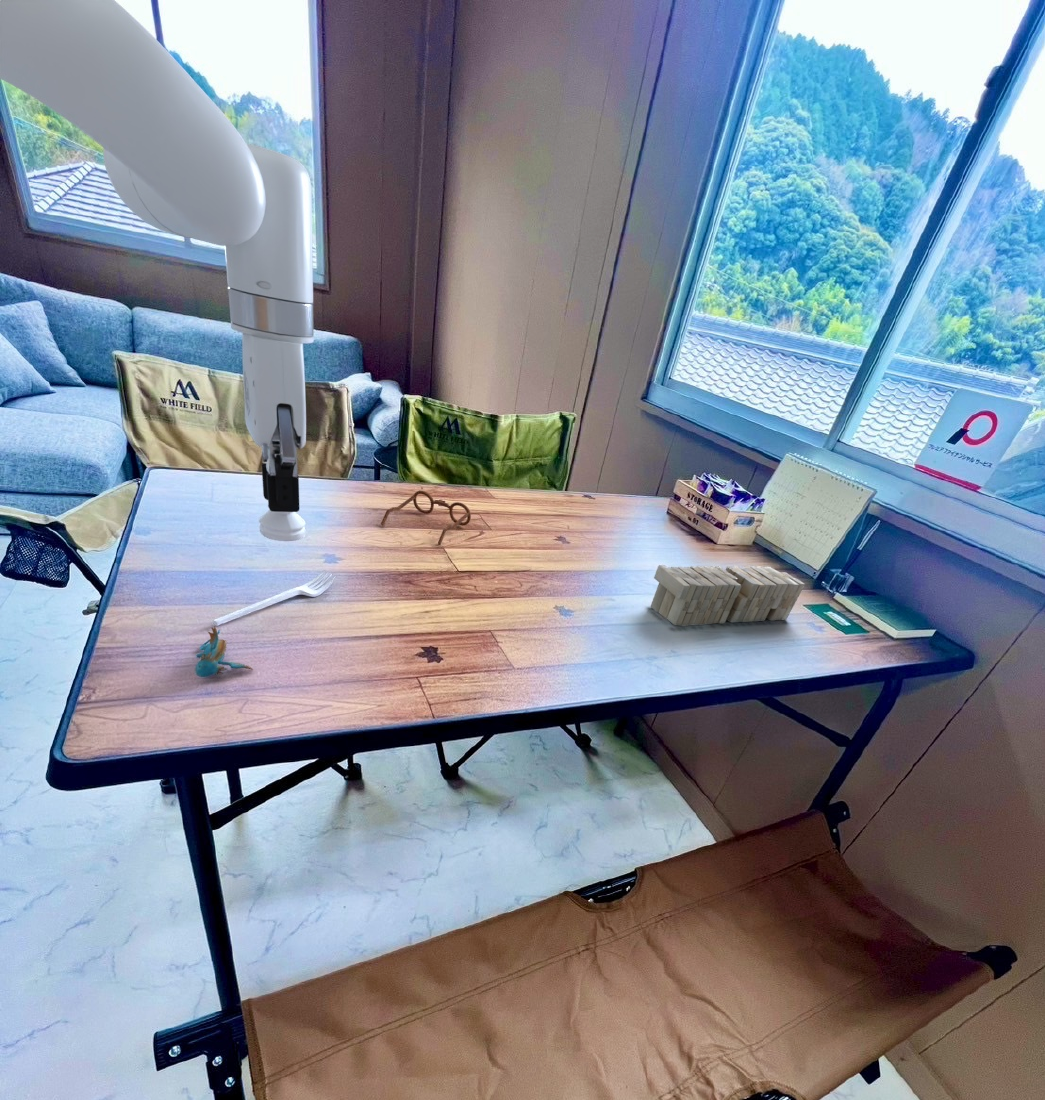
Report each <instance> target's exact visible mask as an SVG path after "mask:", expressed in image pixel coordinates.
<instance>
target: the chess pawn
mask: <svg viewBox="0 0 1045 1100" xmlns="http://www.w3.org/2000/svg"><path fill="white" fill-rule="evenodd" d="M275 457H276V454H275ZM265 463H266V468H267V471H268V473H269V460H267V462H265ZM269 474H270V473H269ZM267 508H268V510H267V511H266V512H264V513H263V514H262V515H261V516H260V517H259V519H258V522H259V533H260V535H262V536H263V537H264V538H266V539H270V540H273V541H276V542H277V541H278V542H295V541H299V540H302V539H303V538H305V536H306V527H305V526H306V521H305V520H304V519H303V517H302V516H301V515H299V514H298V513H297V512H273V511H271V510H270V509H269V507H268V506H267Z"/></svg>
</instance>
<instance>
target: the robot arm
mask: <svg viewBox="0 0 1045 1100" xmlns="http://www.w3.org/2000/svg"><path fill="white" fill-rule="evenodd" d="M0 80H2V81H3V82H6V83H8V84H9V85H11V86H13V87H15V88H17V89H19V90H20V91H22V92H24V93H25V94H28V96H30V97H32V98H34V99H35V100H37V101H38V102H40V103H42V104H43V105H44V106H46V107H48V108H49V109H51V110H52V111H54V112H55V113H57V114H58V115H60V116H61V117H62V118H64V120H67V121H68V122H69V123H71V124H72V125H73V126H75V127H76V128H78V129H79V130H80V131H81V132H82V133H84V134H85V135H87V136H88V137H89V138H91V139H92V140H93V141H94V142H95V143H97V145H99V146H101V147H102V148H103V154H102V155H103V163H104V167H105V171H106V174H107V176H108V177H107V178H108V179H109V181H110V183H111V186H112V187H113V189H114V191H115V193H116V194H117V196H118V197H119V198H120V200H121V201H122V203H124V205H125V206H126V207H127V208H128V209H129V210H130V211H131V212H132V213H134V214H135V215H136V217H138V218H139V219H141V220H142V221H143V222H145V223H146V224H148V225H150V226H152V227H154V228H155V229H158V230H160V231H162V232H165V233H169V234H171V235H175V236H179V237H182V238H183V237H184V238H186V239H193V240H197V241H201V242H206V243H209V244H212V245H216V246H221V247H224V255H225V267H226V278H227V291H228V293H227V294H228V302H229V303H228V304H229V305H228V306H229V316H230V317H229V318H230V328H231V329H232V330H233V331H236V332H238V333H241V334H242V336H241V353H242V354H241V357H242V360H241V361H242V380H243V394H244V395H243V397H244V399H243V400H244V423H245V426H246V429H247V431H248V433H249V435H250V438H251V439H252V441H253V443H255V445H256V446H257V447H259V448H261V458H262V462H261V463H260V464H261V479H262V480H261V481H262V493H263V498H264V499H265V500H266V501H267V508H268V507H269V508H268V510H269V509H270V510H271V511H273V512H296V513H297V512H299V511H300V483H299V482H300V479H299V478H300V477H299V475H298V473H299V472H298V471H299V469H298V452H297V451H298V450H301V449H304V447H305V446H306V443H307V442H306V441H307V403H306V400H307V399H306V398H307V397H306V376H305V370H306V369H305V368H306V366H305V359H304V344H313V343H315V335H314V333H315V332H314V267H313V266H314V265H313V264H314V263H313V261H314V260H313V259H314V258H313V196H312V195H313V194H312V192H313V191H312V182H311V178H310V174H309V172H308V170H307V168H306V167H305V165H304V164H303V163H301V162H300V161H299V160H297V159H296V158H294V157H292V156H290V155H288V154H285V153H283V152H280V151H277V150H274V149H270V148H267V147H264V146H259V145H256V144H252V143H246V141H245V140H244V138H243V136H242V135H241V134H240V132H239V131H238V130H237V128H236V127H235V126H234V124H233V123H232V121H231V120H230V119H229V118H228V117H227V116H226V115H225V113H224V112H223V110H221V109H220V108H219V106H218V105H217V103H215V101H213V100H212V99H211V97H210V96H209V95H208V94H207V93H206V92H205V91H204V90H203V89H202V88H201V86H200V85H199V84H198V83H197V82H196V81H195V79H193V77H191V75H190V74H189V72H188V71H186V69H185V68H184V67H183V66H182V65H181V64H180V63H179V62H178V61H177V59H176V58H174V57H173V55H171V53H170V51H168V49H166V48H165V47H164V46H163V44H161V43H160V41H158V39H157V38H156V37H154V35H152V34H151V33H150V31H148V30H147V28H145V27H144V25H143V24H142V23H140V22H139V21H138V20H137V19H136V18H135V17H134V16H133V15H132V14H130V13H129V12H128V11H127V10H126V9H125V8H124V7H123V6H122V5H120V4H119V3H118V2H117V1H116V0H0ZM275 454H276V457H275ZM267 460H269V473H270V474H269V473H268V471H267V468H266V463H267Z"/></svg>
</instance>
